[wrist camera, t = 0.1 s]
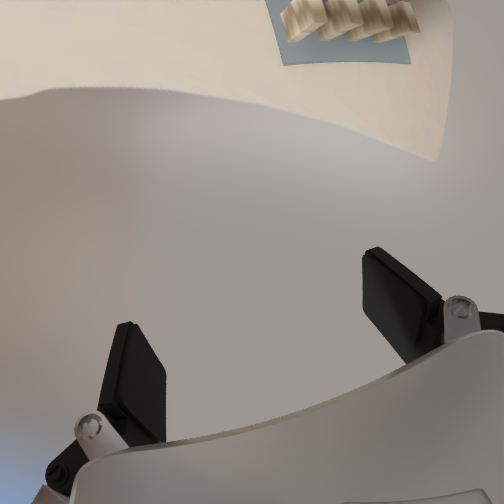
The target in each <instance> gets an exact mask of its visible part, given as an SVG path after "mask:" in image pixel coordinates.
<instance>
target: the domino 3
mask: <svg viewBox="0 0 504 504" xmlns="http://www.w3.org/2000/svg"><path fill="white" fill-rule="evenodd" d="M358 6H359V8H360V12H361V15H362V18H363V21H364V24H362V25H360V26H357V27H355V28H353V29H351V30H349V31H347V32H346V36H347V39H348V41H358V40H361V39H363V38H366V37H369V36H371V35H374V34H377V33H379V32H382V31H385V30H388V29H391V28H394V24H393V20H392V17H391V14H390V11H389V8H388V5H387V2H386V0H364V1H362V2H360V3H359V4H358Z"/></svg>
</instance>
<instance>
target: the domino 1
mask: <svg viewBox="0 0 504 504" xmlns="http://www.w3.org/2000/svg"><path fill="white" fill-rule="evenodd" d="M280 16H281V19H282V22H283V26H284V29H285V33H286V37H287V40H288V42H299V41H300V40H302V39H303V38H304V37H306V36H307V35H309V34H310V33H312V32H313V31H315V30H316V29H317V28H319V27H320V26H322V25H323V24H325V23H326V22H328V18H327V15H326V11H325V8H324V5H323V2H322V0H292V1H291V3H290V4H289V5H288V6H287V7H286V8H285V9H284V10H283V11H282V13H281V14H280Z"/></svg>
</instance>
